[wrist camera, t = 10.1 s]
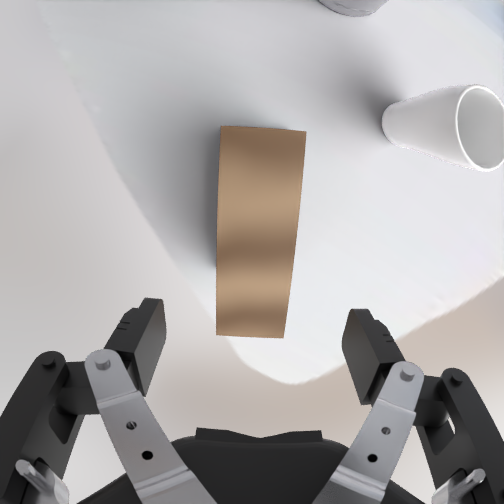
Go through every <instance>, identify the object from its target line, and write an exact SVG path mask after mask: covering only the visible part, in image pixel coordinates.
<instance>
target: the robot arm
mask: <svg viewBox="0 0 504 504" xmlns="http://www.w3.org/2000/svg"><path fill="white" fill-rule="evenodd" d="M319 1H320V2H321V3H322V4H323V5H325V6H326V7H328V8H330V9H331V10H334V11H336V12H338V13H341V14H344V15H348V16H366V15H370V14H372V13H374V12H375V11H376V10H378V9H379V8H380V7H381V6H382V5H383V4H385V3H386V2H387V1H388V0H319ZM165 340H166V322H165V313H164V304H163V300H162V299H153V298H144V300H143V301H142V303H141V305H140V307H139V308H132V309H130V310H129V311H128V312H127V313H125V314H124V316H123V317H122V319H121V320H120V323H119V324H118V325H117V327H116V329H115V330H114V332H113V334H112V335H111V337H110V339H109V340H108V342H107V344H106V345H105V347H104V349H101V350H97V351H94V352H92V353H91V354H90V355H88V356H87V358H86V360H85V361H82V362H66V360H65V358H64V356H63V355H62V354H61V353H59V352H56V351H48V352H45V353H42V354H40V355H39V356H38V357H37V358H36V359H35V360H34V362H33V363H32V365H31V366H30V368H29V370H28V371H27V373H26V374H25V376H24V377H23V379H22V381H21V382H20V384H19V386H18V387H17V389H16V390H15V392H14V394H13V395H12V397H11V399H10V401H9V402H8V404H7V406H6V408H5V410H4V411H3V413H2V415H1V417H0V504H69V491H68V488H67V486H66V485H65V483H64V482H63V481H62V479H63V476H64V473H65V470H66V467H67V464H68V461H69V457H70V455H71V452H72V449H73V446H74V443H75V440H76V438H77V435H78V432H79V429H80V427H81V424H82V422H83V419H84V416H85V415H86V414H89V415H91V414H100V415H101V417H102V419H103V422H104V424H105V427H106V429H107V432H108V434H109V436H110V439H111V441H112V443H113V445H114V448H115V450H116V452H117V454H118V456H119V459H120V461H121V463H122V465H123V466H124V469H125V471H126V473H125V474H123V475H122V476H120V477H119V478H117V479H116V480H114V481H113V482H111V483H110V484H108V485H106V486H105V487H103V488H102V489H100V490H99V491H97V492H95V493H94V494H92V495H90V496H89V497H87V498H86V499H84V500H82V501H80V502H79V503H77V504H425V503H424V502H422V501H421V500H419V499H418V498H416V497H415V496H413V495H412V494H410V493H409V492H407V491H406V490H405V489H403V488H402V487H400V486H399V485H397V484H396V483H395V482H393V481H392V480H390V478H391V476H392V474H393V471H394V469H395V467H396V465H397V462H398V460H399V458H400V456H401V453H402V451H403V448H404V445H405V443H406V441H407V438H408V435H409V433H410V430H411V427H412V425H413V426H416V429H417V432H418V434H419V437H420V440H421V443H422V446H423V449H424V452H425V455H426V459H427V462H428V465H429V468H430V471H431V475H432V478H433V482H434V485H435V488H436V491H435V493H434V494H433V497H432V504H504V441H503V439H502V437H501V435H500V433H499V431H498V429H497V427H496V425H495V423H494V421H493V419H492V418H491V416H490V414H489V412H488V410H487V408H486V406H485V404H484V403H483V401H482V399H481V397H480V395H479V394H478V392H477V390H476V389H475V387H474V385H473V384H472V382H471V380H470V378H469V377H468V375H467V374H466V373H464V372H463V371H462V370H459V369H456V368H448V369H446V370H444V371H443V373H442V375H441V377H433V376H426V375H424V373H423V371H422V370H421V368H420V367H418V366H417V365H415V364H414V363H411V362H407V361H405V359H404V357H403V355H402V353H401V351H400V350H399V348H398V346H397V344H396V343H395V342H394V339H393V337H392V336H391V334H390V332H389V331H388V329H387V327H386V326H385V325H384V324H382V323H381V322H380V321H379V320H374V318H373V317H372V315H371V313H370V311H369V310H368V309H351V310H350V312H349V315H348V319H347V322H346V326H345V330H344V333H343V337H342V350H343V353H344V356H345V359H346V362H347V365H348V367H349V371H350V373H351V376H352V379H353V382H354V385H355V388H356V391H357V394H358V397H359V400H360V403H361V405H368V404H371V405H372V409H371V411H370V413H369V415H368V417H367V419H366V421H365V422H364V424H363V426H362V428H361V430H360V431H359V433H358V435H357V437H356V438H355V440H354V442H353V443H352V445H351V447H350V448H348V447H346V446H344V445H342V444H340V443H338V442H335V441H332V440H328V439H323V438H322V433H321V430H320V431H319V430H318V431H298V432H297V431H296V432H287V433H283V434H278V435H274V436H269V437H264V438H256V437H252V436H248V435H244V434H240V433H236V432H232V431H229V430H218V429H206V428H197V430H196V435H195V436H190V437H184V438H181V439H177V440H175V441H173V442H169V440H168V438H167V437H166V435H165V433H164V432H163V430H162V429H161V427H160V425H159V424H158V422H157V421H156V419H155V417H154V415H153V414H152V412H151V410H150V408H149V407H148V405H147V403H146V401H145V400H144V398H143V397H146V394H147V391H148V388H149V385H150V382H151V380H152V377H153V374H154V371H155V368H156V365H157V363H158V360H159V357H160V355H161V352H162V349H163V346H164V344H165ZM449 417H450V418H451V420H452V422H453V424H454V427H455V434H454V433H453V430H452V428H451V426H450V424H449V421H448V418H449Z"/></svg>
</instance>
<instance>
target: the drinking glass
mask: <svg viewBox="0 0 504 504" xmlns="http://www.w3.org/2000/svg"><path fill="white" fill-rule="evenodd" d="M382 129H383V132H384V134H385V136H386V137H387V139H388V140H389V141H390V142H391V143H392V144H394V145H396V146H398V147H401V148H407V149H410V150H414V151H417V152H420V153H422V154H425V155H428V156H431V157H434V158H436V159H439V160H442V161H444V162H447V163H450V164H453V165H457V166H460V167H464V168H469V169H474V170H479V171H484V172H488V171H492V170H495V169H496V168H498V167H499V166H500V165H501V164H502V163H503V161H504V106H503V104H502V102H501V101H500V99H499V98H498V97H497V96H496V94H495V93H494V92H492V91H491V90H490V89H488V88H487V87H485V86H482V85H477V84H474V85H457V86H450V87H445V88H441V89H437V90H434V91H431V92H428V93H425V94H422V95H419V96H416V97H413V98H410V99H408V100H405V101H401V102H396V103H393V104H391V105H389V106H388V107H387V108H386V110H385V111H384V113H383V116H382Z"/></svg>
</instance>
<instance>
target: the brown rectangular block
mask: <svg viewBox="0 0 504 504" xmlns="http://www.w3.org/2000/svg"><path fill="white" fill-rule="evenodd" d="M305 143H306V132H305V131H296V130H285V129H273V128H258V127H239V126H221V134H220V155H219V180H218V211H217V260H216V335H223V336H239V337H261V338H283V337H284V331H285V324H286V317H287V310H288V302H289V295H290V287H291V279H292V271H293V263H294V255H295V246H296V238H297V228H298V219H299V210H300V200H301V189H302V179H303V167H304V156H305Z"/></svg>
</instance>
